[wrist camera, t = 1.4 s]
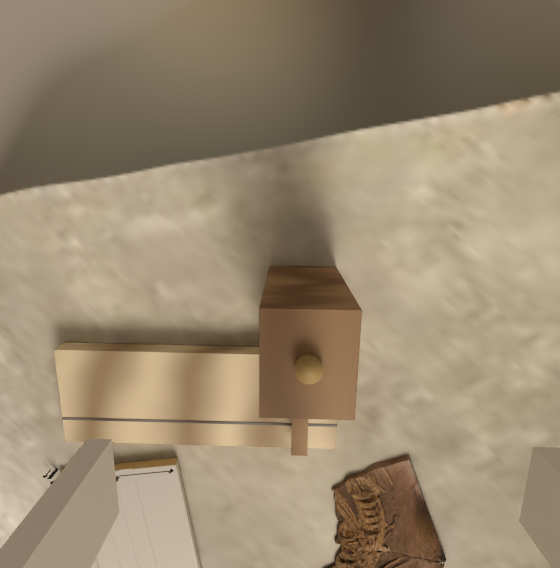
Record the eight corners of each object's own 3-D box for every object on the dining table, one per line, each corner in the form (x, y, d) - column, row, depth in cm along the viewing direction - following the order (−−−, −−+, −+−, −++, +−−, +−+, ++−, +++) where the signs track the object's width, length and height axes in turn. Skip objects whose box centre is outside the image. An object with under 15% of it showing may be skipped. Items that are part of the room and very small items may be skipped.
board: (338, 348, 31) (340, 356, 30) (333, 437, 33) (335, 449, 32) (64, 342, 32) (53, 349, 30) (75, 430, 34) (65, 441, 32)
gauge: (336, 266, 30) (364, 314, 19) (328, 430, 33) (347, 554, 22) (269, 265, 30) (258, 312, 19) (268, 428, 33) (257, 551, 22)
